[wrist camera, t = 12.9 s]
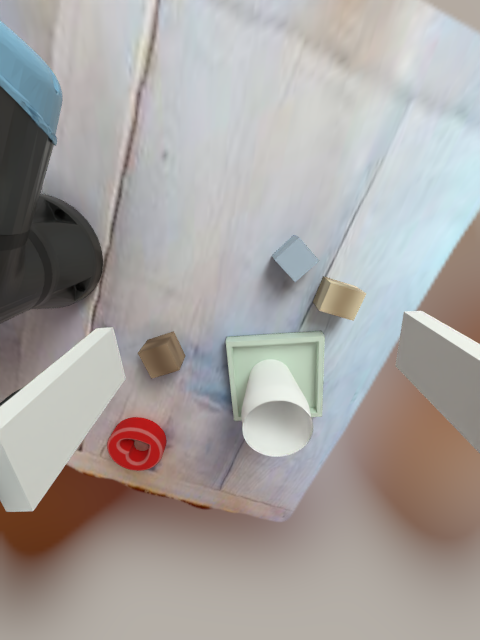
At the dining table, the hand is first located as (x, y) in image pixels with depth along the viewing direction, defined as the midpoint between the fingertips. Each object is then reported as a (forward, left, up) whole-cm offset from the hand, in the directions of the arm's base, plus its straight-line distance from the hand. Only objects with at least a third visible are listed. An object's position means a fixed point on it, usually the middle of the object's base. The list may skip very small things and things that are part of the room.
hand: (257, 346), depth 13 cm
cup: (+2, -20, -28) cm, 34 cm away
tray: (+3, -20, -29) cm, 35 cm away
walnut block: (-14, -14, -29) cm, 35 cm away
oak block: (+12, -7, -29) cm, 32 cm away
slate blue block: (+6, -1, -29) cm, 29 cm away
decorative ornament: (-22, -32, -29) cm, 48 cm away
